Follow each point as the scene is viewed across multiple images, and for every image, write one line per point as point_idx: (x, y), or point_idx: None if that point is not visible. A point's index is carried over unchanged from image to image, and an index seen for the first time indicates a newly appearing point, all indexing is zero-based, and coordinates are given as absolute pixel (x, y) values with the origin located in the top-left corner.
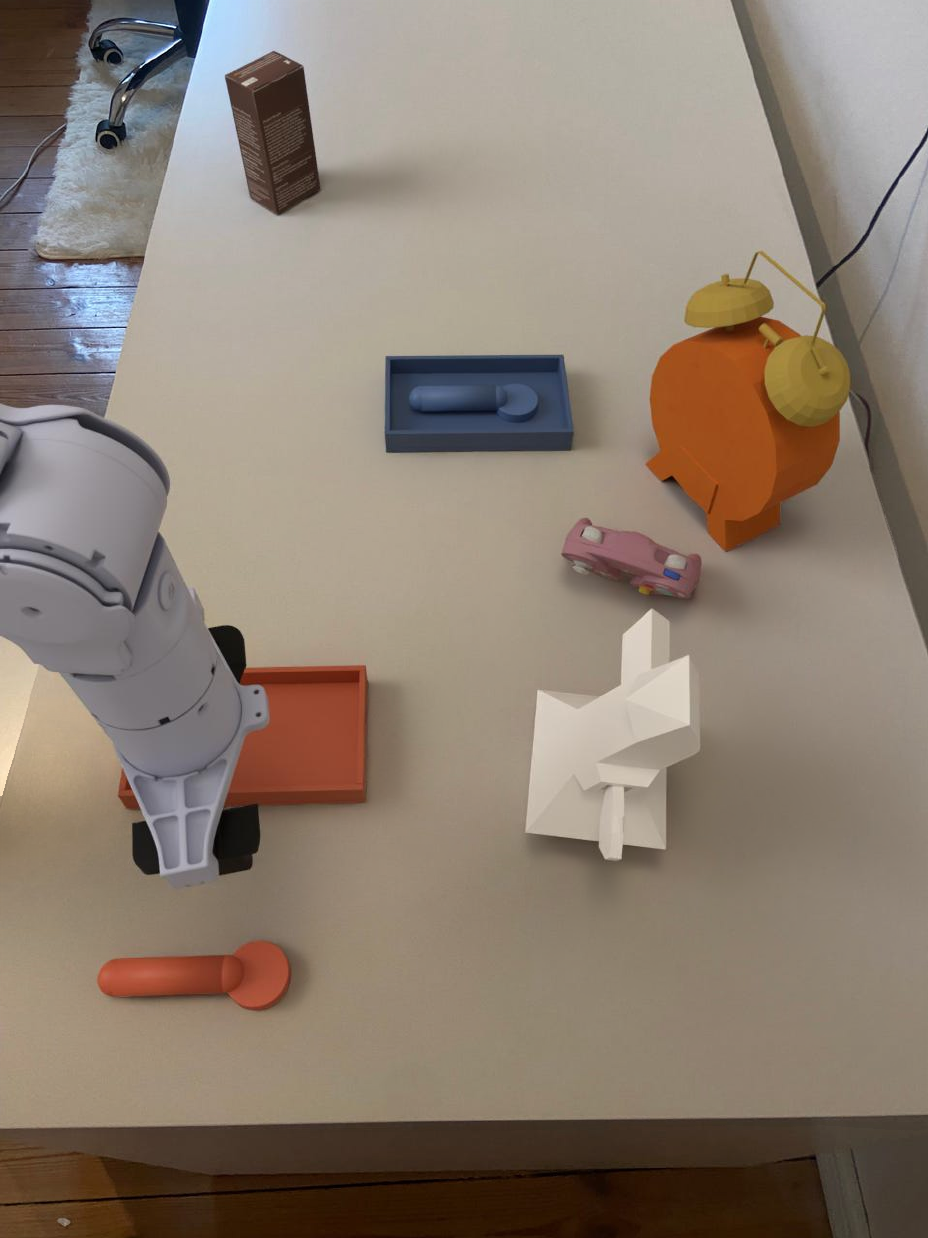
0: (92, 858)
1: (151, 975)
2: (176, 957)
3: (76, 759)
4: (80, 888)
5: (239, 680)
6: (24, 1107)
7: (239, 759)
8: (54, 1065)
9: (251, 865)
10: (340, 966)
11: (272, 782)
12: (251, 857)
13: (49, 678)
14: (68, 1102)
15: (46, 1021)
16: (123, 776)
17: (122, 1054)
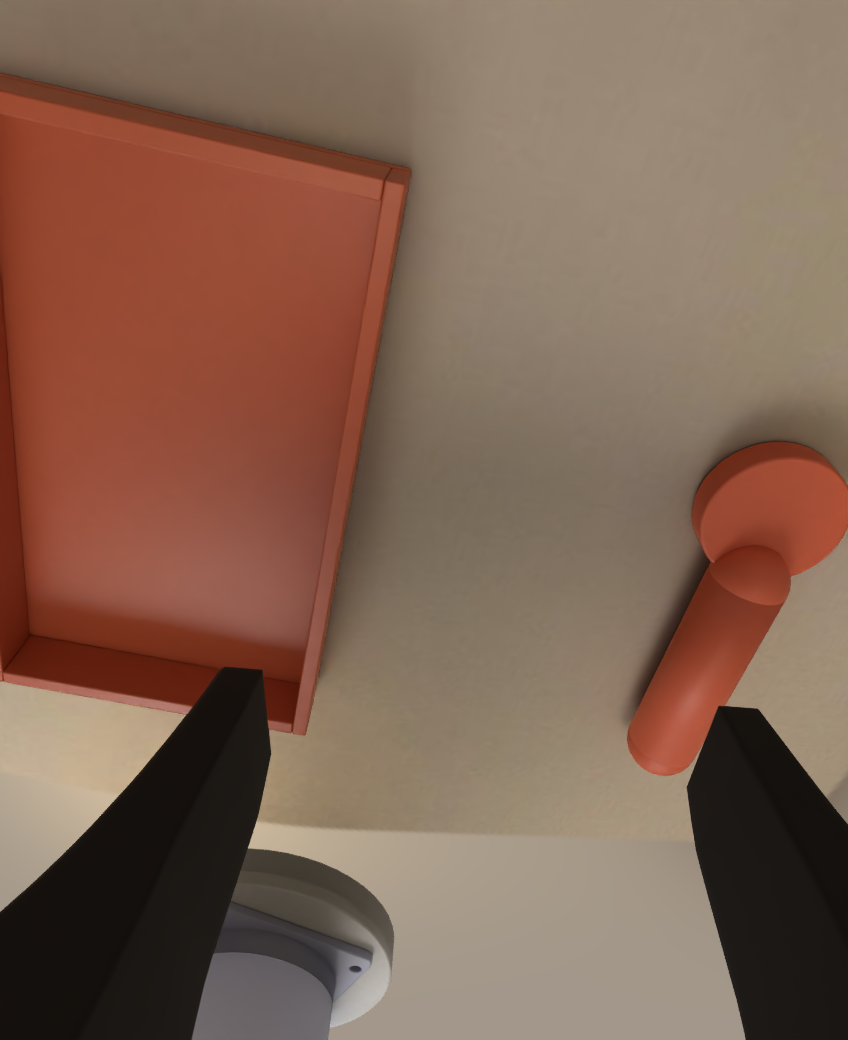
0: (405, 736)
1: (706, 714)
2: (681, 665)
3: None
4: (458, 754)
5: (85, 1028)
6: None
7: (233, 483)
8: None
9: (774, 730)
10: (831, 328)
11: (309, 418)
12: (837, 812)
13: (16, 771)
14: None
15: (669, 804)
16: None
17: (780, 722)
